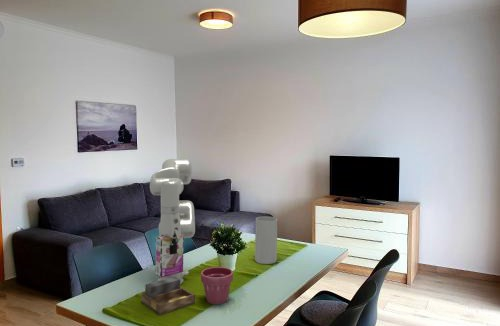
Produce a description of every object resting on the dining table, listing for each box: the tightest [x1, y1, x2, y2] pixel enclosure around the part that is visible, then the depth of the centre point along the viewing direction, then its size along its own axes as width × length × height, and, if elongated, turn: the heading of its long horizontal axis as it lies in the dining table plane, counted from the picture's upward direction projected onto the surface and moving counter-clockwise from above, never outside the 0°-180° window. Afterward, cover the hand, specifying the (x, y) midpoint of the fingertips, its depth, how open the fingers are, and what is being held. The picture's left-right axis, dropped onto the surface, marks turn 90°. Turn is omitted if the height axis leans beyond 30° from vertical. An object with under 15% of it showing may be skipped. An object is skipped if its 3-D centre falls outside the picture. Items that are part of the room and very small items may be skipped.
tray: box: [140, 277, 196, 316], centre depth 170 cm, size 17×16×8 cm
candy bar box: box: [154, 234, 185, 278], centre depth 166 cm, size 11×5×16 cm, turn 133°
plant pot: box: [200, 266, 234, 305], centre depth 174 cm, size 14×14×13 cm
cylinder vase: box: [254, 215, 278, 265], centre depth 227 cm, size 12×12×25 cm
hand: (169, 251), depth 166 cm, fingers closed on candy bar box, 5 cm apart
